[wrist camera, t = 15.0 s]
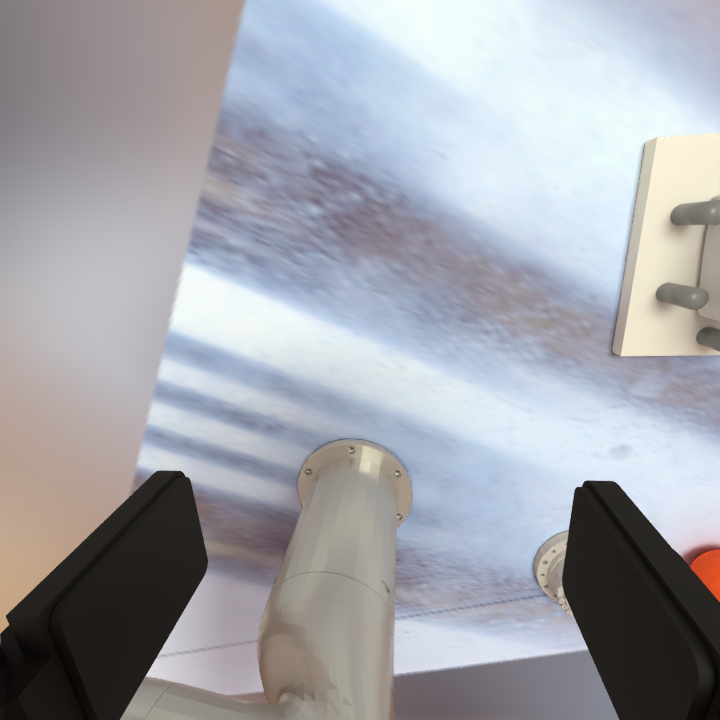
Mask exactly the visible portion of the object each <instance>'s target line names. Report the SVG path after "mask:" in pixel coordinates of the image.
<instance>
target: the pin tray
mask: <svg viewBox="0 0 720 720" xmlns="http://www.w3.org/2000/svg"><path fill="white" fill-rule="evenodd" d="M717 195H720V133H711V134H697V135H684V136H671V137H658V138H655V139H652V140H650V141H647V142H645V148H644V155H643V161H642V167H641V173H640V180H639V186H638V192H637V198H636V205H635V211H634V217H633V223H632V230H631V236H630V242H629V248H628V255H627V261H626V267H625V273H624V280H623V286H622V292H621V298H620V305H619V311H618V317H617V323H616V330H615V336H614V342H613V348H612V352H614V353H616V354H617V355H619V356H686V355H720V321H717V320H713V319H710V318H706V317H703V316H701V315H700V314H699V311H698V309H701V308H702V307H704V306H705V305H706V304H707V302H708V300H709V293H708V292H707V291H706V290H705V289H702V288H699V285H700V276H701V266H702V260H703V253H704V245H705V239H706V233H707V227H708V225H715V224H719V223H720V200H714V199H715V197H716V196H717Z"/></svg>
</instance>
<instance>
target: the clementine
mask: <svg viewBox="0 0 720 720" xmlns="http://www.w3.org/2000/svg"><path fill="white" fill-rule="evenodd" d="M690 568H691V569H692V570H693V571H694V573H695V574H696V575H697V576H698V577H699V578H700V580H701V581H702V582H703V583H704V584H705V585H706V587H707V588H708V589H709V590H710V591H711V592H712V594H713V595H714V596H715V597H716V598H717V600H718V601H719V602H720V549H718V550H711V551H708V552H705V553H703V554H701V555H700V556H698V557H697V558H696V559H695V560H694V561H693V563H692V564H691V567H690Z"/></svg>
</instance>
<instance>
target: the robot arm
mask: <svg viewBox="0 0 720 720" xmlns="http://www.w3.org/2000/svg"><path fill="white" fill-rule="evenodd" d="M350 446H351V447H350ZM397 470H398V471H397ZM297 489H298V497H299V500H300V503H301V506H302V510H301V513H300V515H299V518H298V521H297V523H296V526H295V529H294V531H293V534H292V537H291V539H290V542H289V545H288V548H287V550H286V553H285V556H284V558H283V561H282V564H281V566H280V569H279V572H278V574H277V577H276V580H275V582H274V585H273V588H272V591H271V593H270V596H269V599H268V601H267V604H266V607H265V610H264V612H263V615H262V619H261V622H260V627H259V633H258V644H257V653H258V663H259V671H260V676H261V680H262V684H263V688H264V692H265V696H266V699H267V702H268V704H265V703H260V702H255V701H251V702H249V701H245V700H242V699H238V698H233V697H230V696H226V695H223V694H219V693H215V692H211V691H208V690H204V689H200V688H196V687H192V686H189V685H185V684H181V683H175V682H171V681H167V680H163V679H157V678H152V677H145V676H146V674H147V673H148V671H149V669H150V668H151V666H152V664H153V662H154V661H155V659H156V657H157V656H158V654H159V652H160V650H161V649H162V647H163V645H164V644H165V642H166V640H167V639H168V637H169V635H170V633H171V632H172V630H173V628H174V627H175V625H176V623H177V621H178V620H179V618H180V616H181V615H182V613H183V611H184V609H185V608H186V606H187V604H188V603H189V601H190V599H191V597H192V596H193V594H194V592H195V591H196V589H197V587H198V585H199V584H200V582H201V580H202V579H203V577H204V575H205V573H206V570H207V565H208V559H207V554H206V549H205V545H204V540H203V536H202V531H201V526H200V522H199V517H198V513H197V508H196V503H195V499H194V494H193V490H192V485H191V481H190V479H189V478H188V477H185V475H184V473H183V472H181V471H157V472H155V473H154V474H153V475H152V476H151V477H150V478H149V479H148V480H147V481H146V482H145V483H144V484H143V485H142V486H140V487H139V488H138V489H137V490H136V491H135V492H134V493H133V494H132V495H131V496H130V497H129V498H128V499H127V500H126V501H125V502H124V503H123V504H122V505H121V506H120V507H119V508H118V509H117V510H115V511H114V512H113V513H112V514H111V515H110V516H109V517H108V518H107V519H106V520H105V521H104V522H103V523H102V524H101V525H100V526H99V527H98V528H97V529H96V530H95V531H94V532H93V533H92V534H91V535H89V536H88V537H87V539H85V540H84V541H83V542H82V543H81V544H80V545H79V546H78V547H77V548H76V549H75V550H74V551H73V552H72V553H71V554H70V555H69V556H68V557H67V558H66V559H65V560H63V562H61V563H60V564H59V565H58V566H57V567H56V568H55V569H54V570H53V571H52V572H51V573H50V574H49V575H48V576H47V577H46V578H45V579H44V580H43V581H42V582H41V583H40V584H38V585H37V587H35V588H34V589H33V590H32V591H31V592H30V593H29V594H28V595H27V596H26V597H25V598H24V599H23V600H22V601H21V602H20V603H19V604H18V605H17V606H16V607H15V608H14V609H13V610H11V611H10V612H9V613H8V614H7V615H6V618H7V620H8V622H9V626H8V627H7V628H6V629H5V630H4V631H3V632H2V633H1V634H0V720H394V694H393V663H394V621H395V584H396V546H397V528H398V527H399V526H400V525H401V524H402V523H403V522H404V520H405V518H406V517H407V515H408V514H409V511H410V508H411V505H412V484H411V480H410V476H409V474H408V472H407V470H406V468H405V467H404V465H403V464H402V463H401V461H400V460H399V459H398V458H397V457H396V456H395V455H393V454H392V453H391V452H390V451H388V450H387V449H385V448H383V447H382V446H379V445H377V444H374V443H372V442H368V441H364V440H357V439H345V440H337V441H334V442H331V443H328V444H326V445H324V446H322V447H320V448H318V449H317V450H316V451H315V452H314V453H312V454H311V455H310V457H309V458H308V459H307V460H306V462H305V464H304V466H303V468H302V470H301V472H300V475H299V478H298V486H297ZM562 586H563V591H564V594H565V597H566V599H567V602H568V604H569V606H570V608H571V611H572V613H573V615H574V617H575V620H576V622H577V624H578V627H579V629H580V631H581V633H582V636H583V638H584V640H585V642H586V645H587V647H588V649H589V652H590V654H591V656H592V658H593V660H594V663H595V665H596V667H597V670H598V672H599V674H600V676H601V679H602V681H603V683H604V685H605V688H606V690H607V692H608V695H609V697H610V699H611V701H612V704H613V706H614V708H615V711H616V713H617V715H618V717H619V720H720V602H719V601H718V600H717V598H716V597H715V596H714V595H713V594H712V592H711V591H710V590H709V589H708V588H707V587H706V585H705V584H704V583H703V582H702V581H701V580H700V578H699V577H698V576H697V575H696V574H695V573H694V571H693V570H692V569H691V568H690V567H689V565H688V564H687V563H686V562H685V561H684V560H683V558H682V557H681V556H680V555H679V554H678V553H677V552H676V551H675V550H673V549H672V548H671V546H670V545H669V544H668V543H667V542H666V541H665V539H664V538H663V537H662V536H661V535H660V533H659V532H658V531H657V530H656V529H655V528H654V526H653V525H652V524H651V523H650V522H649V520H648V519H647V518H646V517H645V516H644V515H643V513H642V512H641V511H640V510H639V509H638V507H637V506H636V505H635V504H634V503H633V502H632V500H631V499H630V498H629V497H628V496H627V494H626V493H625V492H624V491H623V490H622V489H621V487H620V486H619V485H618V484H617V483H616V482H613V481H585V482H584V483H583V486H582V487H577V488H576V489H575V492H574V499H573V506H572V512H571V519H570V526H569V533H568V540H567V547H566V554H565V560H564V567H563V574H562Z"/></svg>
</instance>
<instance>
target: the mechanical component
mask: <svg viewBox="0 0 720 720" xmlns="http://www.w3.org/2000/svg"><path fill="white" fill-rule="evenodd" d="M568 533H569V530H568V531H565V532H563V533H560V534H557V535H555V536H554V537H552V538H551V539H549V540H548V541H546V542H545V543H544V545H543V546H542V547H541V548H540V549H539V551H538V553H537V555H536V557H535V562H534V571H535V575H536V577H537V580H538V582H539V584H540V586H541V588H542V590H543V591H544V592H545V593H546V594H547V595H548V596H549V597H550V598H552V599H554V600H556V601H557V602H559V603H560V605H561V607H562V608H563V609H564V610H565V611H566V613H567V614H570V615H572V616H574V615H573V613H572V611H571V608H570V606H569V604H568V602H567V599H566V597H565V594H564V591H563V586H562V574H563V567H564V560H565V554H566V547H567V540H568Z"/></svg>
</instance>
